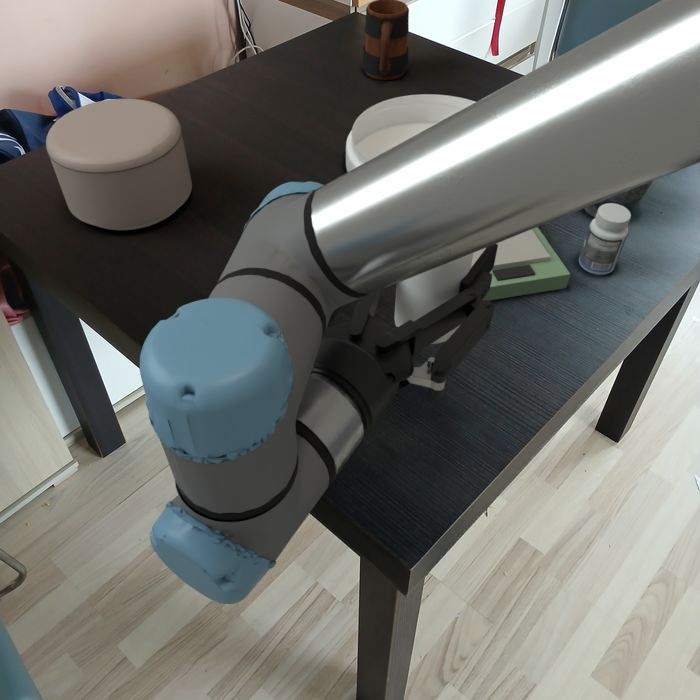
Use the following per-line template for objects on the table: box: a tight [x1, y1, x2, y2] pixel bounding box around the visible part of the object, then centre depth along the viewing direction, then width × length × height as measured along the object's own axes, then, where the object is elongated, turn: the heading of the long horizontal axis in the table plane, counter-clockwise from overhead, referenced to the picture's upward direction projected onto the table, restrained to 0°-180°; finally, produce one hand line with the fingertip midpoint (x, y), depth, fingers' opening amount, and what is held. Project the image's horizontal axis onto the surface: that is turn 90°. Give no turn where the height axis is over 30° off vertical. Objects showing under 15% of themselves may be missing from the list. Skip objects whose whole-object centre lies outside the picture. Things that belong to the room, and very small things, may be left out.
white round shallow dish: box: [345, 93, 476, 173], centre depth 103 cm, size 27×27×6 cm
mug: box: [362, 0, 410, 81], centre depth 122 cm, size 9×12×12 cm
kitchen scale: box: [471, 227, 571, 301], centre depth 88 cm, size 15×14×3 cm
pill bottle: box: [578, 203, 632, 276], centre depth 85 cm, size 5×5×8 cm
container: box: [45, 98, 193, 231], centre depth 94 cm, size 18×18×12 cm
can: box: [394, 253, 473, 346], centre depth 60 cm, size 6×6×12 cm
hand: (456, 242), depth 63 cm, fingers closed on can, 6 cm apart
